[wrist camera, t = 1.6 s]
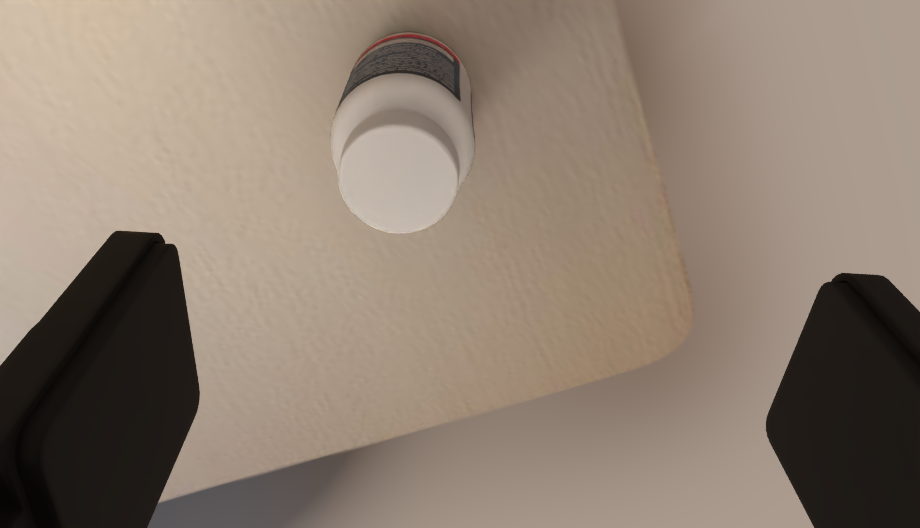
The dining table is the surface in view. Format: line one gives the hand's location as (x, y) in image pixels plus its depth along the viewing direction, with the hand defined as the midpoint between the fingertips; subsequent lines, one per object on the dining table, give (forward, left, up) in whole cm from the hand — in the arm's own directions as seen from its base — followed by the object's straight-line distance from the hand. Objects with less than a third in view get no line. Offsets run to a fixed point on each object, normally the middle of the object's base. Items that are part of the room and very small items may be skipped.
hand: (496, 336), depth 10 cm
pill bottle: (+3, +2, -22) cm, 22 cm away
